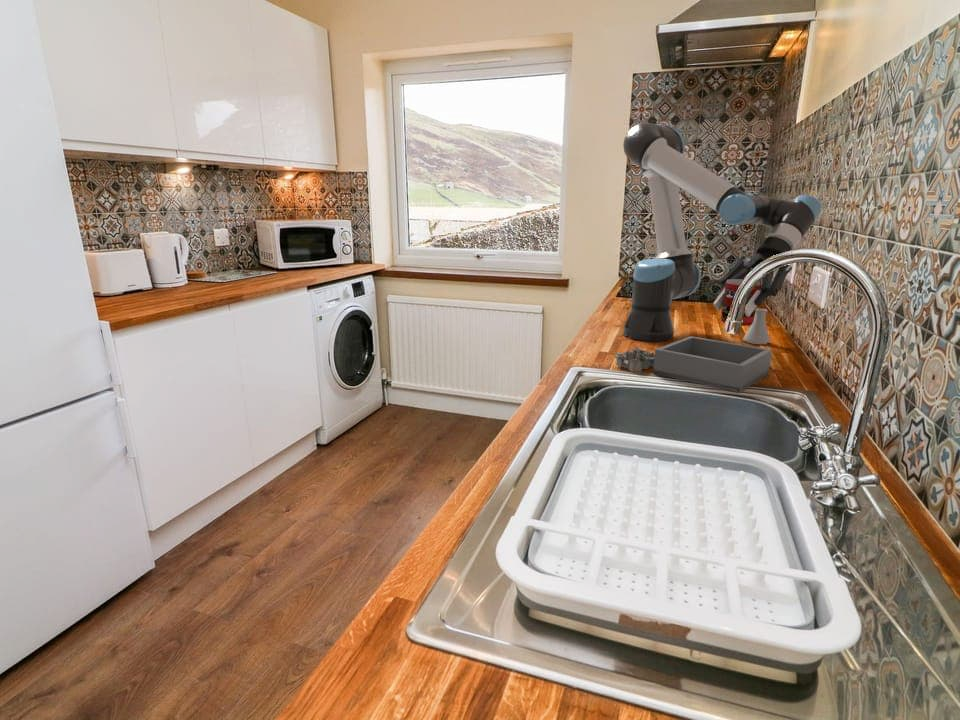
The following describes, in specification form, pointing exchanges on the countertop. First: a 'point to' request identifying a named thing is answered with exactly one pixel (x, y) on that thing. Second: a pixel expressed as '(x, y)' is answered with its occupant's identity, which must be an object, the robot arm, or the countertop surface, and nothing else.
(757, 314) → the flask
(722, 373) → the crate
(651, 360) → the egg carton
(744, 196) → the robot arm
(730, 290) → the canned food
